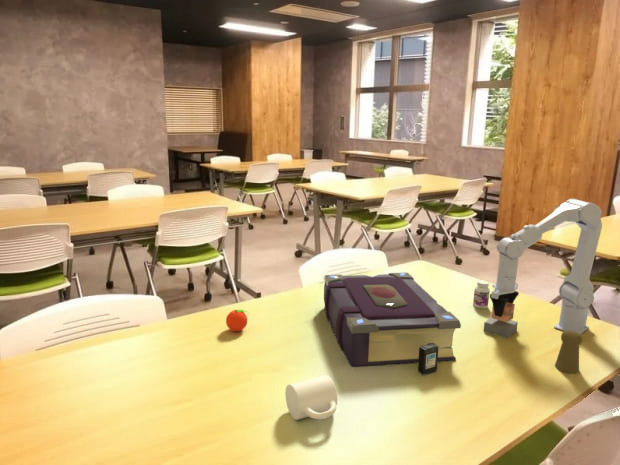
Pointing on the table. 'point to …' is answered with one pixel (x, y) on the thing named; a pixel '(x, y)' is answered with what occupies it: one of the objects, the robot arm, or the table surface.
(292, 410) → the mug
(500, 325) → the gray block
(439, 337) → the book
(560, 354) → the cork
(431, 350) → the ink cartridge
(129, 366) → the table surface
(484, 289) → the pill bottle
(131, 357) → the table surface
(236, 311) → the clementine
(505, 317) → the terracotta cube
